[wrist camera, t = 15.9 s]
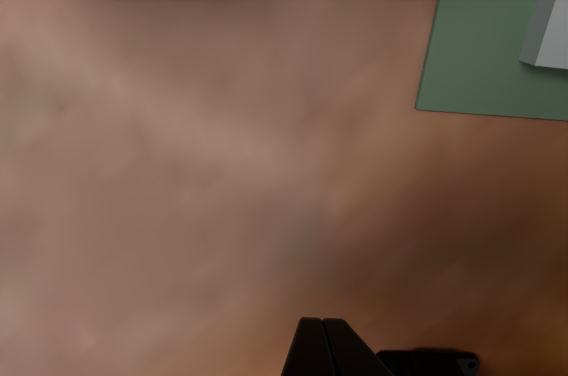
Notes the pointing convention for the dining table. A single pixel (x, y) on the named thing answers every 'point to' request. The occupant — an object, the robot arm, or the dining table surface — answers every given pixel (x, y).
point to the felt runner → (487, 63)
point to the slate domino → (547, 35)
